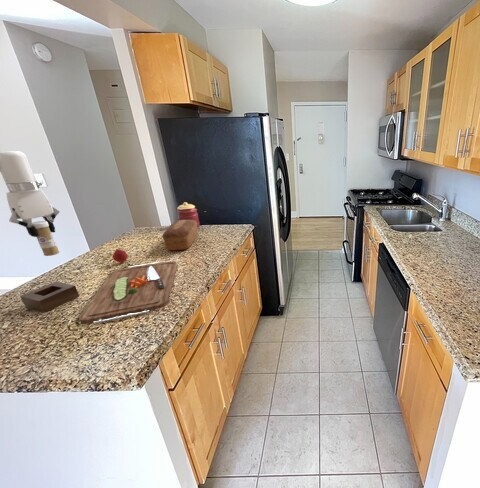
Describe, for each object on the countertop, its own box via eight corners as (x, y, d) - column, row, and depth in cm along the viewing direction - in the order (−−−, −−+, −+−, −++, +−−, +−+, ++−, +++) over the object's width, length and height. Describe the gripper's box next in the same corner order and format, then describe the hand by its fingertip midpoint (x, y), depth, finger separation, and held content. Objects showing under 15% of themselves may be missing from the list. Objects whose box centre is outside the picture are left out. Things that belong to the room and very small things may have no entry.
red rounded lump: (128, 259, 135) (123, 245, 132) (130, 262, 131) (125, 248, 128) (114, 262, 131) (109, 248, 128) (116, 266, 128) (111, 251, 125)
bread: (201, 234, 171) (198, 216, 166) (190, 250, 145) (185, 230, 140) (178, 235, 168) (174, 217, 163) (163, 253, 142) (157, 232, 138)
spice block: (25, 307, 97) (19, 296, 95) (61, 291, 106) (56, 281, 105) (45, 312, 94) (39, 301, 92) (79, 296, 103) (74, 285, 102)
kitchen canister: (204, 224, 189) (199, 201, 182) (189, 230, 178) (183, 205, 171) (191, 222, 194) (186, 199, 187) (175, 227, 183) (170, 203, 176)
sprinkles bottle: (43, 257, 102) (28, 224, 97) (45, 253, 105) (31, 221, 100) (59, 254, 104) (45, 222, 99) (60, 250, 107) (48, 219, 102)
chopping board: (115, 270, 124) (113, 264, 123) (178, 260, 133) (177, 255, 132) (73, 329, 85) (69, 321, 84) (165, 310, 95) (163, 303, 94)
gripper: (45, 183, 103) (62, 226, 110) (-17, 190, 88) (7, 240, 95) (58, 184, 101) (75, 228, 108) (-3, 191, 86) (21, 242, 93)
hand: (43, 233), depth 101 cm, fingers closed on sprinkles bottle, 4 cm apart
